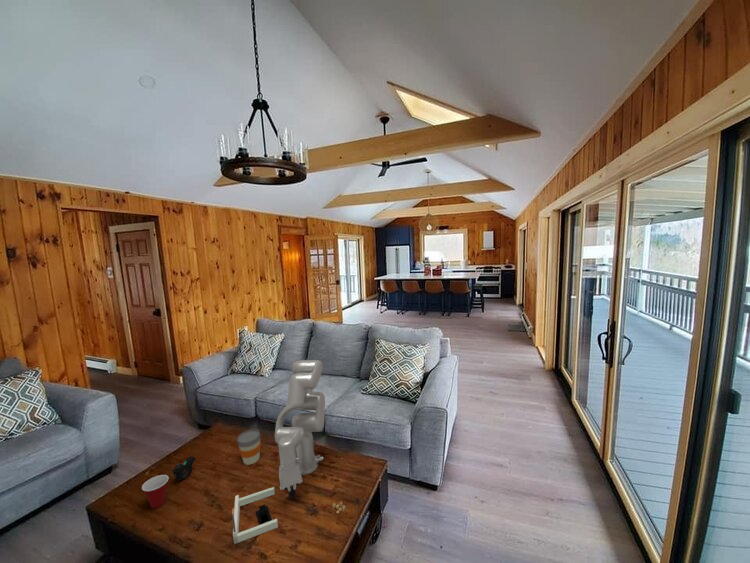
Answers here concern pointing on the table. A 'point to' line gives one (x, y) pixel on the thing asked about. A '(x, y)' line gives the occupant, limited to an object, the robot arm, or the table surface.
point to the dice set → (338, 506)
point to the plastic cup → (156, 490)
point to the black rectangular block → (263, 514)
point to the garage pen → (255, 530)
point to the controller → (183, 468)
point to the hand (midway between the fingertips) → (292, 495)
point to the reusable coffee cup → (249, 446)
